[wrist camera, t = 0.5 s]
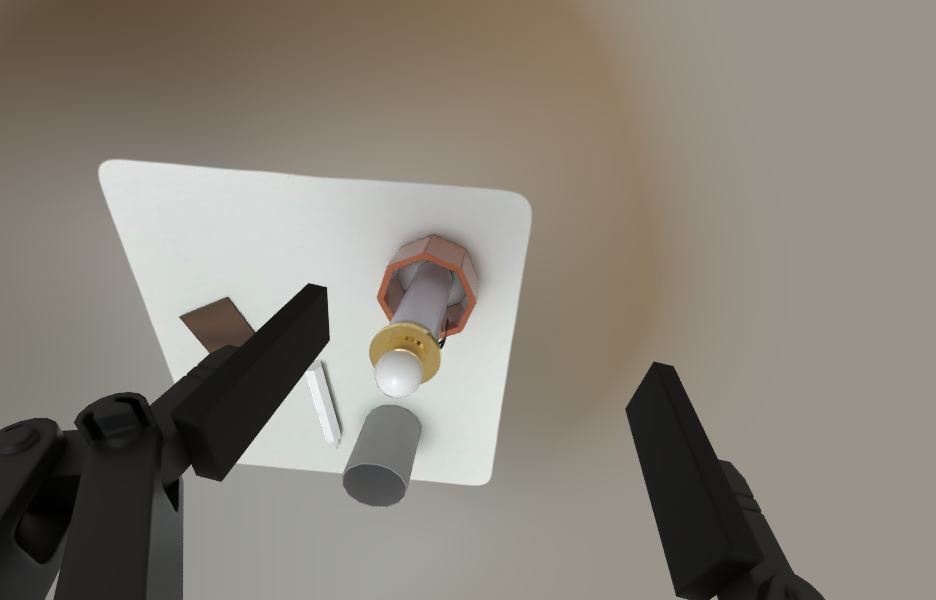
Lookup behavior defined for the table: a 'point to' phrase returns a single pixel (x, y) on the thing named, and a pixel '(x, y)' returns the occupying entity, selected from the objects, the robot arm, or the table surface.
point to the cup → (382, 457)
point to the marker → (323, 402)
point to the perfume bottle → (413, 334)
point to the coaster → (218, 325)
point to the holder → (440, 255)
